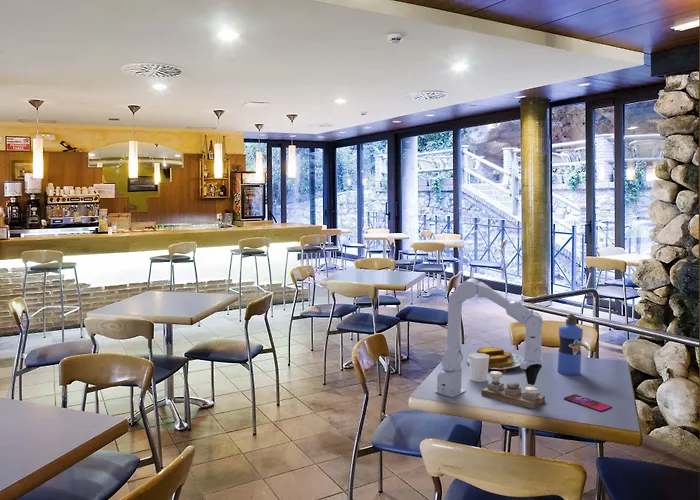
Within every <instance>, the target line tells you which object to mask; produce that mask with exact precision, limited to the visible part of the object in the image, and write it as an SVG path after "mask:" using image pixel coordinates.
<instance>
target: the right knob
mask: <svg viewBox="0 0 700 500" xmlns="http://www.w3.org/2000/svg"><path fill="white" fill-rule="evenodd" d="M524 391H525V393H528V394H537V393H538V392H539V391H538V388H537V387H535V386H526V387H524Z"/></svg>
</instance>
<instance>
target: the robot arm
mask: <svg viewBox="0 0 700 500" xmlns="http://www.w3.org/2000/svg"><path fill="white" fill-rule="evenodd" d="M476 295H477V296H476ZM475 296H476V298H477V299H478V298H481V299H482V298H486V299H487V300H490V301H491V302H493V303H494V304H497V305H498V306H499V307H501V308H503V309H504V310H505V313H506V315H507V316H509V317H511V318H512V319H514V320H515V321H517V322H519V323H520V324H523V325H524V327H525V334H524V346H523V347H524V348H523V350H524V351H523V361H522V362H521V363H520V366H519V367H520V369H523V371H524V374H525V377H526V383H527V384H528V385H530V386H534V385H536V382H537V378H538V375H539V373H540V370H541V369H542V368H543V366H542V364H544V363H545V361H544V356H545V355H542V341H543V340H542V339H543V336H542V333H543V331H542V330H543V329H542V327H543V323H544V319H543V317H542V315H541V314H539V312H537V311H534V310H533V309H531V310H530V309H529V308H528V307H526V306H524V305H523V303H522V302H521V301H516V300H511V301H510V300H509V299H507V297H504V296H503V295H502V294H500V293H499V292H498V291H496V290H494V289H493V288H492V287H490V286H489V285H487V284H486V283H484V282H482V281H480V280H478V278H474V277H470V278H467V279H466V280H464V281H462V283H460V284H459V285H457V287H456V288H455V289H454V291H453V292H452V293H451V295H449V297H448V311H447V331H446V345H445V349H444V355H443V357H442V358H441V365H442V370H440V371H441V372H440V373H438V374H437V378H436V379H437V380H436V381H437V382H436V390H435V391H434V393H436V394H440V395H443V396H446V397H450V398H455V397H456V396H459V395H462V394H463V393H464V392H467V390H466V389H464V388H462V377H463V375H462V372H463V371H462V370H463V367H462V366H461V363H462V362H463V359H464V355H463V353H462V346H461V330H462V329H461V328H462V315H463V313H462V311H463V303H465V301H467V300H469V299H472V298H474V297H475Z"/></svg>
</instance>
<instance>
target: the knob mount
mask: <svg viewBox="0 0 700 500" xmlns="http://www.w3.org/2000/svg"><path fill="white" fill-rule="evenodd" d="M481 395H482V396H485V397H488V398H492V399H495V398H496V400H499V401H502V400H503V401H502V402H507V403H511V404H513V405H517V406H521V407H525V408H529V409H534V408H536V407H537V406H539V405H541V404H542V403H544V402H545V399H546V396H545V395H543V394H540V392H539V391H538V393H537V394H528V393H525V390H522V387H520V383H518V382H516V381H508V382H506V385H505V383H504V382H501V381H499V382H493V380H491V381H489V382H487V386H486V387H484V388H482V389H481Z"/></svg>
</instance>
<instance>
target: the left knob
mask: <svg viewBox="0 0 700 500" xmlns="http://www.w3.org/2000/svg"><path fill="white" fill-rule="evenodd" d="M489 373H490V374H489V376H490V377H491V378H492V381H493V382H500V378H502V377H503V372H501V371H497V370H496V371H495V370H494V371H493V370H492V371H490V372H489Z"/></svg>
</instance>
